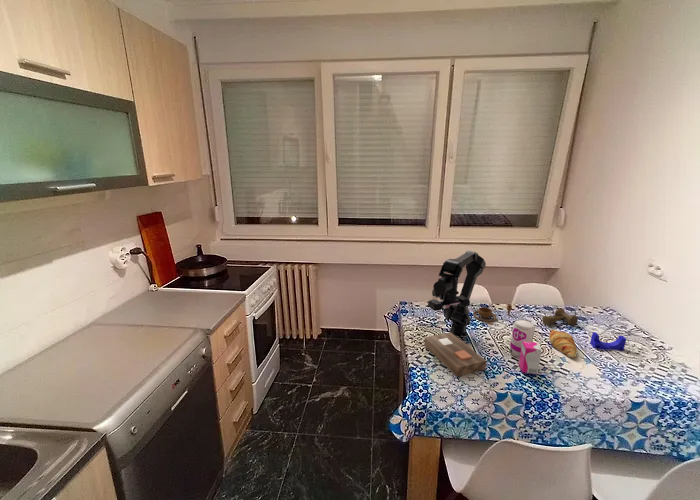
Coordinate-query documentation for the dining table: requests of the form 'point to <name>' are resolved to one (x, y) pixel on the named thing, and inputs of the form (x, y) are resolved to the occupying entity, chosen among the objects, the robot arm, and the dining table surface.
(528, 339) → the supplement can
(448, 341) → the white square block
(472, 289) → the robot arm
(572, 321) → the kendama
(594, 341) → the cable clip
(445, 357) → the button panel
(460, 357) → the terracotta plunger
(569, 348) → the croissant
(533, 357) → the supplement box
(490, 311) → the place setting
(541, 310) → the dining table surface
